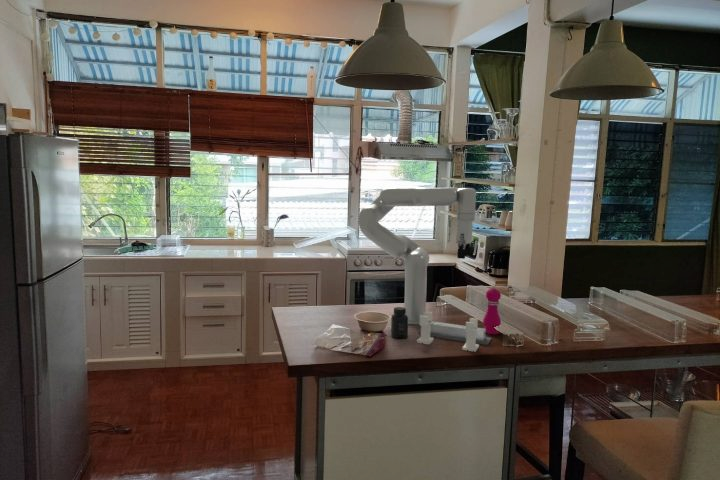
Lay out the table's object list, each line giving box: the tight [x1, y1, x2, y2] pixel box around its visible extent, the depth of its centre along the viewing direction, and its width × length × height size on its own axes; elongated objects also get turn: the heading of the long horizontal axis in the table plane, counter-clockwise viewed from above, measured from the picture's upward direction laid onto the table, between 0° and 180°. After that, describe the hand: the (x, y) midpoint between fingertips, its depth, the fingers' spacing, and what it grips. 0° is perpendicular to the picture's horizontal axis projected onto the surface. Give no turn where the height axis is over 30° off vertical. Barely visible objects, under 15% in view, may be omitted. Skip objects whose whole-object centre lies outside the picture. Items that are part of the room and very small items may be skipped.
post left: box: [416, 311, 435, 345], centre depth 214 cm, size 5×7×11 cm
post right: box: [461, 317, 480, 353], centre depth 207 cm, size 5×7×11 cm
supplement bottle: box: [390, 306, 409, 341], centre depth 219 cm, size 7×7×12 cm
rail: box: [430, 320, 487, 341], centre depth 221 cm, size 24×4×4 cm, turn 66°
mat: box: [418, 331, 493, 346], centre depth 221 cm, size 28×8×1 cm, turn 66°
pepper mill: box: [482, 284, 502, 335], centre depth 228 cm, size 7×7×20 cm
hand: (464, 256), depth 234 cm, fingers open, 9 cm apart
